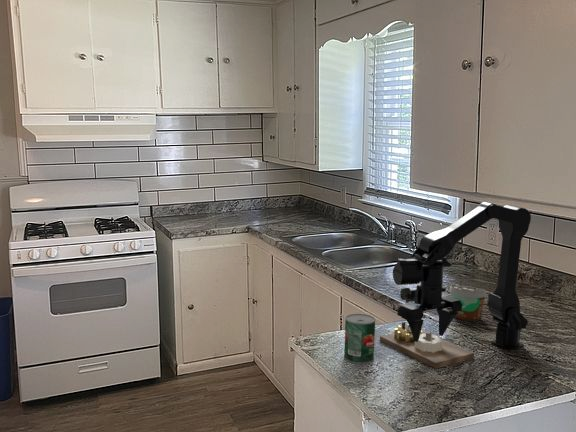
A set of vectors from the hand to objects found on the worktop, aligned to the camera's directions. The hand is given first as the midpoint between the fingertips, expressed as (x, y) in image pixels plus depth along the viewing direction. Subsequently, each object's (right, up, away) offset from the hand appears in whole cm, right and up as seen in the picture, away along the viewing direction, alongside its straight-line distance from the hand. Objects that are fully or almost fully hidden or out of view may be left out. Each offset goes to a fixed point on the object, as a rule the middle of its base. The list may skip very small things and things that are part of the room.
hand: (428, 338), depth 162 cm
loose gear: (0, -3, 0) cm, 2 cm away
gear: (-4, -1, +7) cm, 8 cm away
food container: (+18, 0, +30) cm, 35 cm away
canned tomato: (-19, -5, -4) cm, 20 cm away
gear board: (0, -4, +3) cm, 5 cm away
